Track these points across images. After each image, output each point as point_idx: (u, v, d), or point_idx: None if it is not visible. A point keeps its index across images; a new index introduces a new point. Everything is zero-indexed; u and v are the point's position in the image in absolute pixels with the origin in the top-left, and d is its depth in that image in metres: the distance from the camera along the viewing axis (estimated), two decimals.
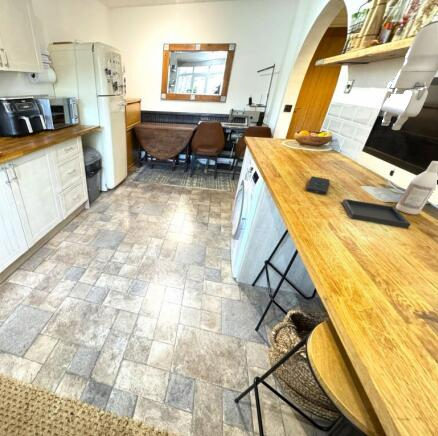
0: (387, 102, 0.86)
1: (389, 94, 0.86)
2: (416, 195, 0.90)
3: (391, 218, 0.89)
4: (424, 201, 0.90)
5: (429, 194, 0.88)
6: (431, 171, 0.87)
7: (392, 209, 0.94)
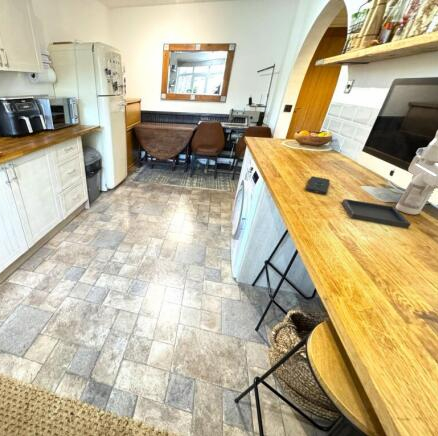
0: (415, 167, 0.93)
1: (417, 159, 0.93)
2: (416, 195, 0.90)
3: (391, 218, 0.89)
4: (424, 201, 0.90)
5: (429, 194, 0.88)
6: None
7: (392, 209, 0.94)
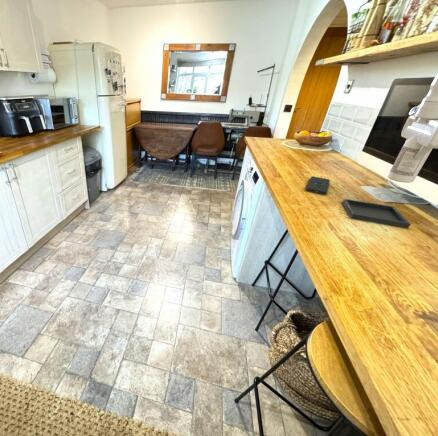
0: (408, 129, 0.83)
1: (410, 121, 0.83)
2: (409, 160, 0.80)
3: (391, 218, 0.89)
4: (418, 166, 0.80)
5: (424, 157, 0.78)
6: None
7: (392, 209, 0.94)
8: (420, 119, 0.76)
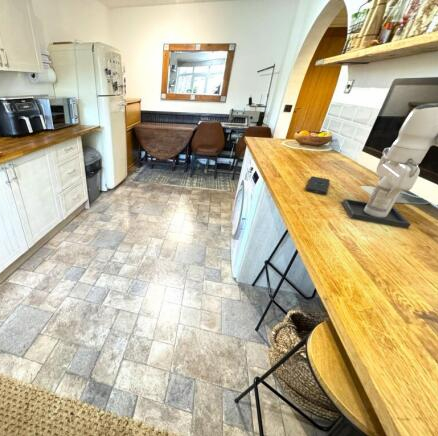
0: (382, 167, 0.90)
1: (384, 160, 0.89)
2: (382, 198, 0.87)
3: (391, 218, 0.89)
4: (390, 204, 0.86)
5: (395, 196, 0.85)
6: None
7: (392, 209, 0.94)
8: (390, 161, 0.83)
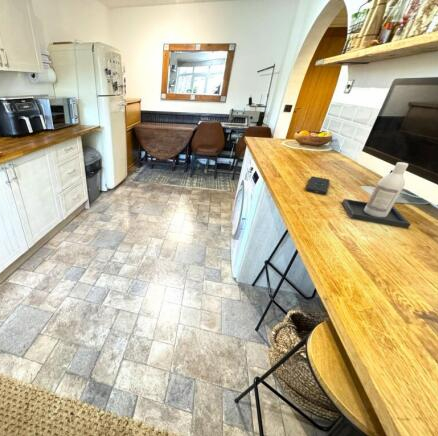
0: None
1: None
2: (382, 198, 0.87)
3: (391, 218, 0.89)
4: (390, 204, 0.86)
5: (395, 196, 0.85)
6: (396, 173, 0.83)
7: (392, 209, 0.94)
8: None
